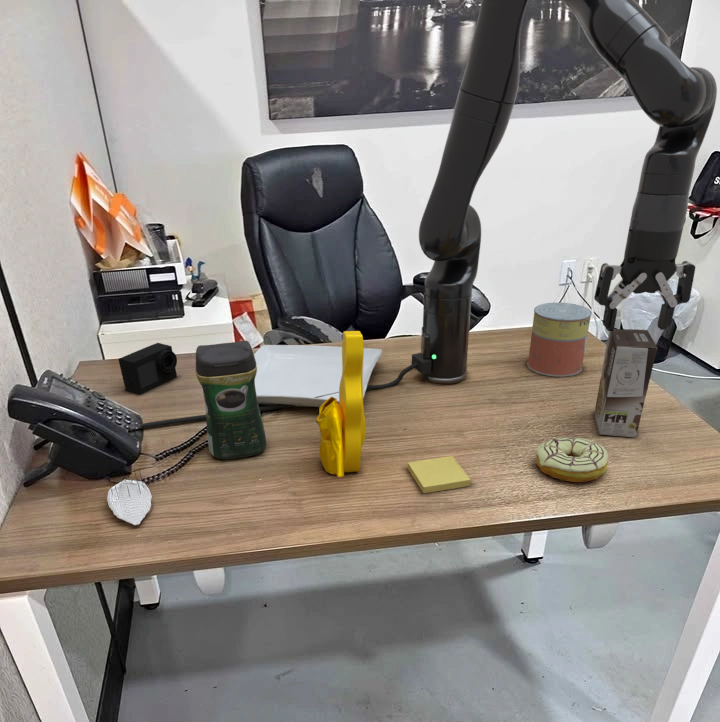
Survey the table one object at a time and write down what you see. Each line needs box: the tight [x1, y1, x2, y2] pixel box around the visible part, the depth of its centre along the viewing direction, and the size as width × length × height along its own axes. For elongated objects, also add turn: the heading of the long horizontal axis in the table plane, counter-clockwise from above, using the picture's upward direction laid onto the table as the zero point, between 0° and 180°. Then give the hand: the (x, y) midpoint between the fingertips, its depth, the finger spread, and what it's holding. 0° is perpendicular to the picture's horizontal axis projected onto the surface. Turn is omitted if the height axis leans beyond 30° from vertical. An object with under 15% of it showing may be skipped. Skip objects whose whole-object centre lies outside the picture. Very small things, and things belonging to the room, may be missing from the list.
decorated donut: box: [535, 436, 609, 483], centre depth 102 cm, size 10×11×4 cm
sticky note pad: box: [407, 455, 472, 494], centre depth 101 cm, size 8×8×1 cm
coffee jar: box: [195, 340, 267, 460], centre depth 106 cm, size 10×8×19 cm
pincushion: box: [106, 469, 153, 526], centre depth 95 cm, size 12×6×6 cm, turn 25°
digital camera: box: [118, 342, 178, 395], centre depth 133 cm, size 10×5×7 cm, turn 148°
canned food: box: [526, 302, 593, 378], centre depth 135 cm, size 11×11×12 cm
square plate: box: [253, 344, 383, 408], centre depth 132 cm, size 27×27×4 cm
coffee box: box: [594, 328, 659, 438], centre depth 111 cm, size 9×6×16 cm
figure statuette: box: [315, 330, 367, 478], centre depth 100 cm, size 18×8×22 cm, turn 11°
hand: (635, 329), depth 107 cm, fingers open, 8 cm apart
